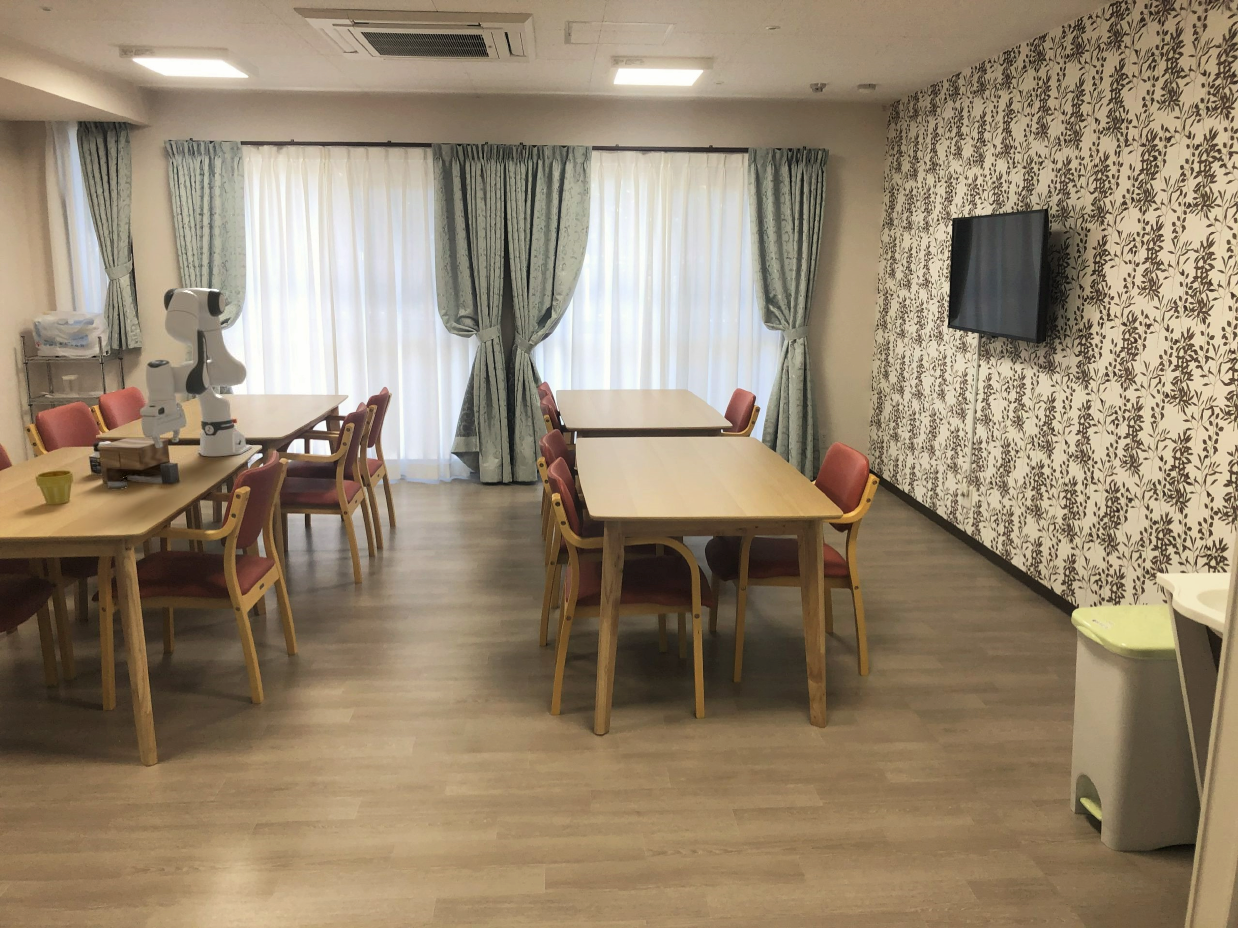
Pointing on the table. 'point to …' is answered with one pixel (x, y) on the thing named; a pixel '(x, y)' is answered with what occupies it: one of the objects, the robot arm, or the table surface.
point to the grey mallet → (167, 475)
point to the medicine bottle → (96, 458)
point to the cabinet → (132, 457)
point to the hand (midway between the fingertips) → (167, 444)
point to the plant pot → (55, 486)
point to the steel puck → (117, 484)
